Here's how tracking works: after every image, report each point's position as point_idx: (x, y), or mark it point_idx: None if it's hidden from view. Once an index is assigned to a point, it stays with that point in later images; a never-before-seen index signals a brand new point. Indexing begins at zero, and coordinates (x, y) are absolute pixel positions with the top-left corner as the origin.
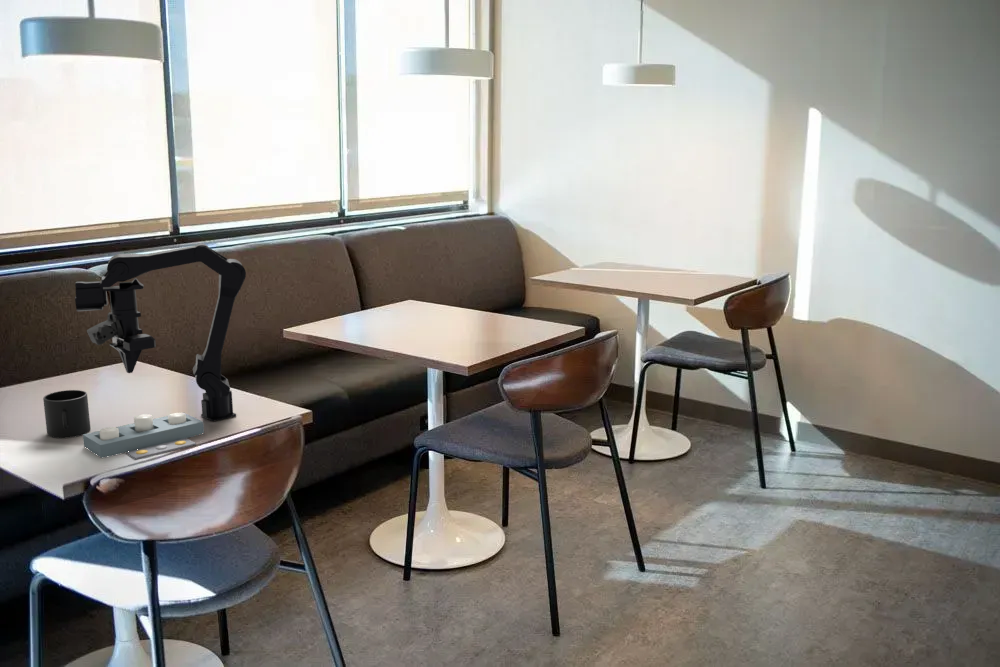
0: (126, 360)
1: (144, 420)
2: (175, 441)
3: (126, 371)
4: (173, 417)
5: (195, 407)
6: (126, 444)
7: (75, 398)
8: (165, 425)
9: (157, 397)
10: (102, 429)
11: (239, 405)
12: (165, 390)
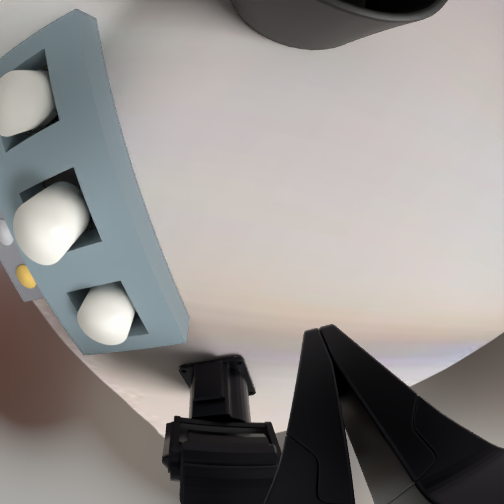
0: (285, 444)
1: (16, 232)
2: None
3: (336, 327)
4: (81, 313)
5: None
6: None
7: (412, 6)
8: (67, 277)
9: (455, 290)
10: (22, 79)
11: (278, 408)
12: (475, 307)
